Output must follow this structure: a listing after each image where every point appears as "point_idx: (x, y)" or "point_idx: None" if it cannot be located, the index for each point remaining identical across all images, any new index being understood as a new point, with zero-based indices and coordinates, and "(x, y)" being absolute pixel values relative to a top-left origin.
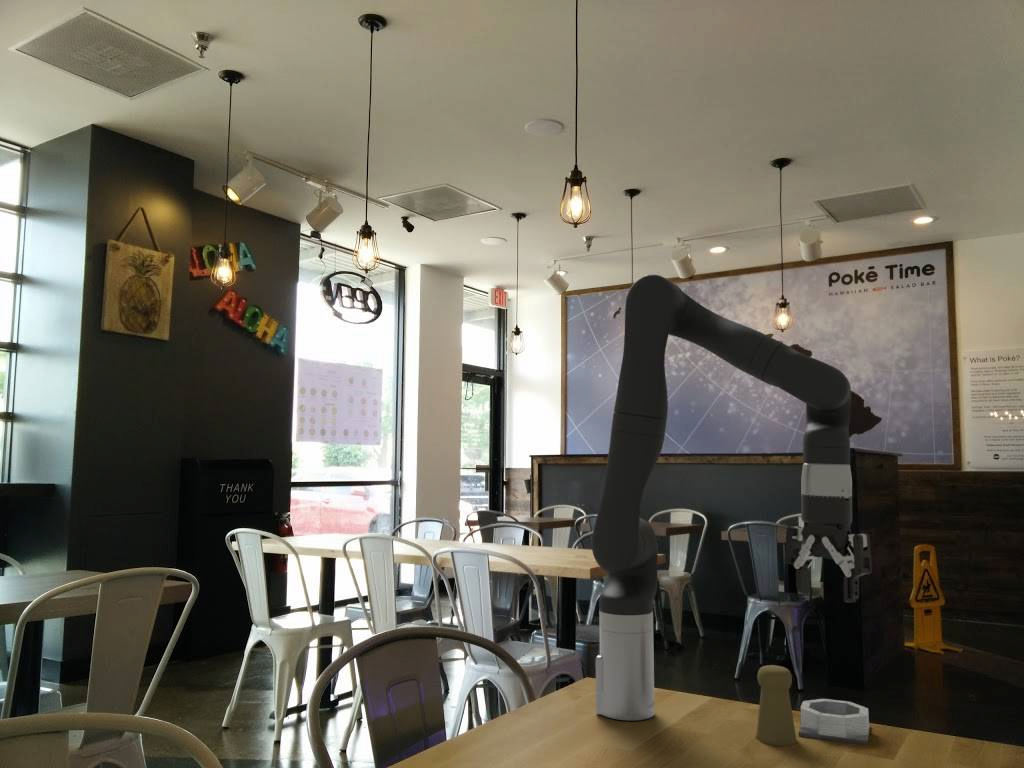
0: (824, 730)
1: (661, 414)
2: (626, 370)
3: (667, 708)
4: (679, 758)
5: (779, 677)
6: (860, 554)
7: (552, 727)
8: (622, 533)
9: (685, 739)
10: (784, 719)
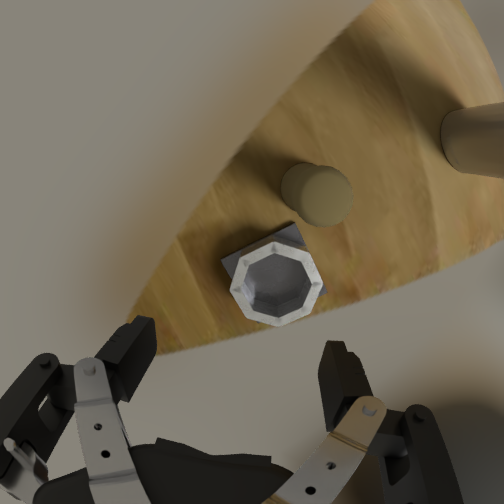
0: (265, 239)
1: None
2: None
3: (451, 193)
4: (330, 47)
5: (301, 177)
6: (1, 398)
7: (460, 55)
8: None
9: (372, 103)
10: (289, 180)
